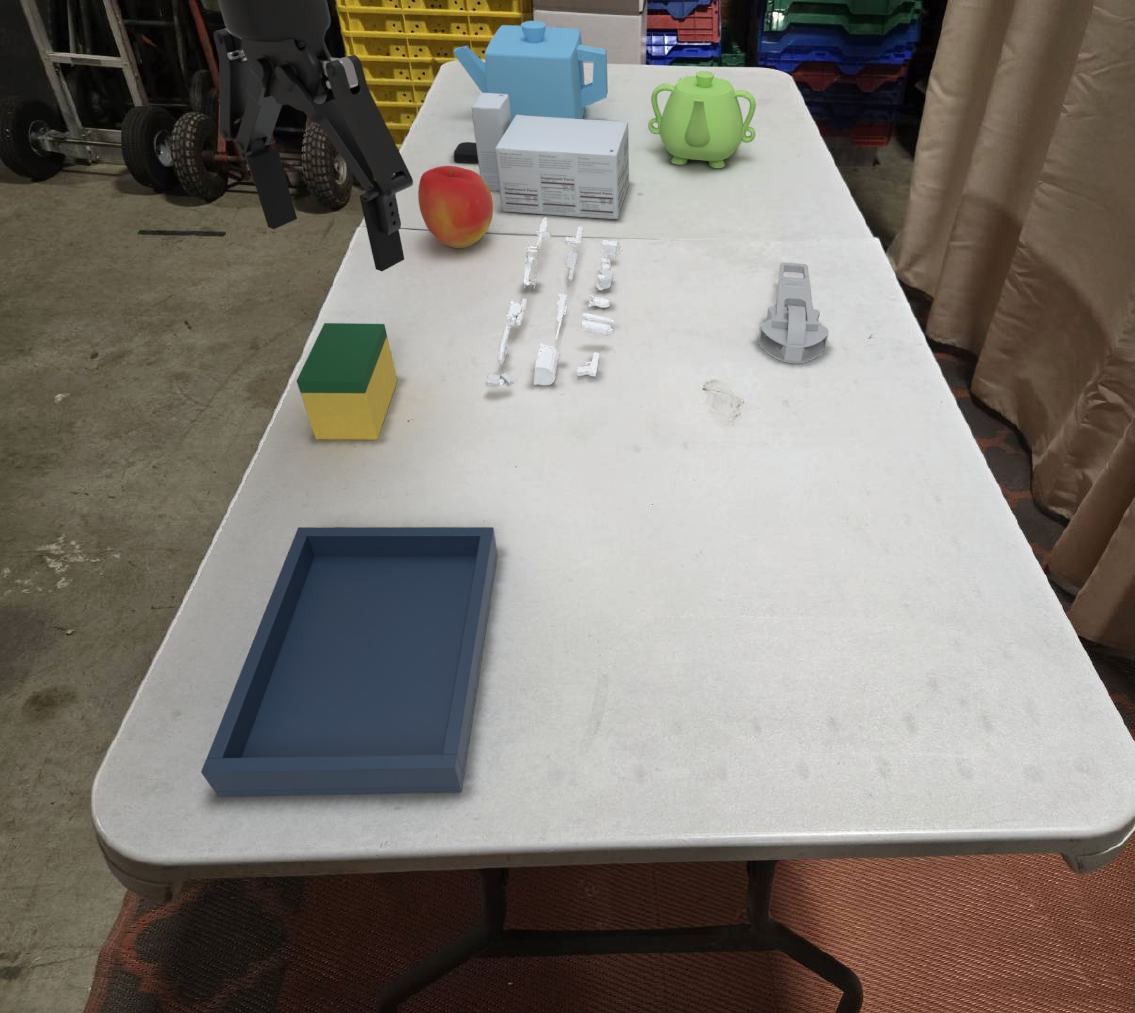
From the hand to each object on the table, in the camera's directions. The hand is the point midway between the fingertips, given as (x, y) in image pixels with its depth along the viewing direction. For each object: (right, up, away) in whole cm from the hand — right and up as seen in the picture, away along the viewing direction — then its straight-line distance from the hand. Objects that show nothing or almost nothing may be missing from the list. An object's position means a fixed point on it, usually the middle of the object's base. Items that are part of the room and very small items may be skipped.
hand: (335, 243), depth 76 cm
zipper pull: (+45, -2, +26) cm, 52 cm away
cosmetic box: (+4, +25, +51) cm, 57 cm away
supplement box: (+15, +22, +49) cm, 55 cm away
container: (+7, +43, +70) cm, 82 cm away
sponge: (-2, -14, +10) cm, 17 cm away
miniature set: (+18, -1, +25) cm, 31 cm away
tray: (+8, -36, -12) cm, 38 cm away
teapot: (+35, +33, +61) cm, 78 cm away
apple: (+2, +11, +37) cm, 39 cm away
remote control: (+3, +31, +58) cm, 66 cm away
